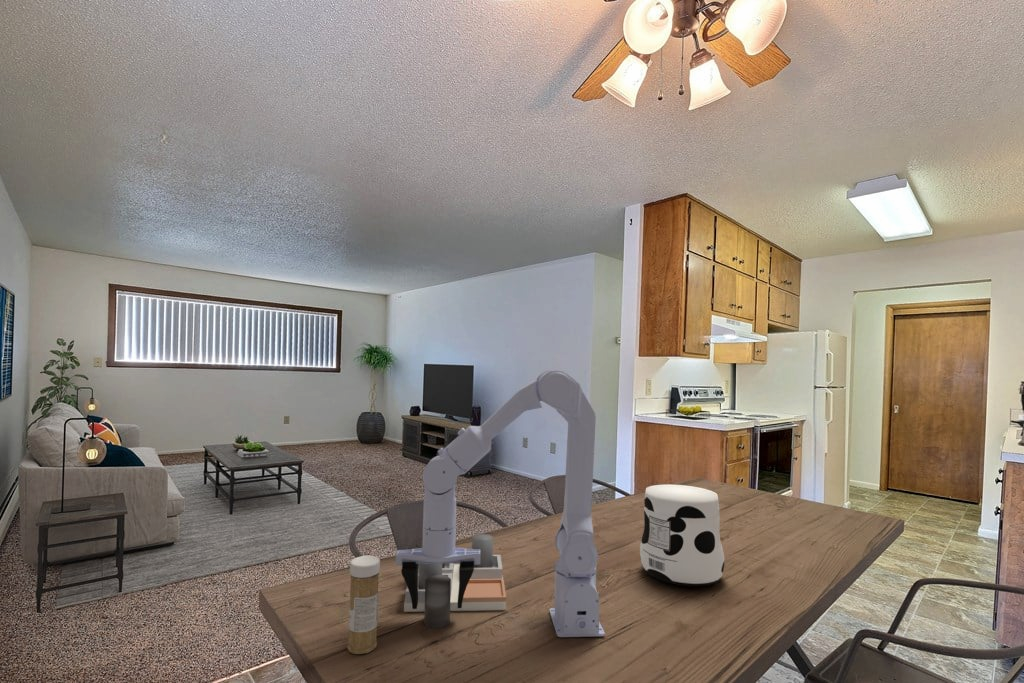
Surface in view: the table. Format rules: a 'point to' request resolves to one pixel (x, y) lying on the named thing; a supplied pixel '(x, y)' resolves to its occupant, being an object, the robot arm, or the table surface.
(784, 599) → the table surface
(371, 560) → the sprinkles bottle
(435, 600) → the dark gray cylinder
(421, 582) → the white cylinder holder tray
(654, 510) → the milk container
